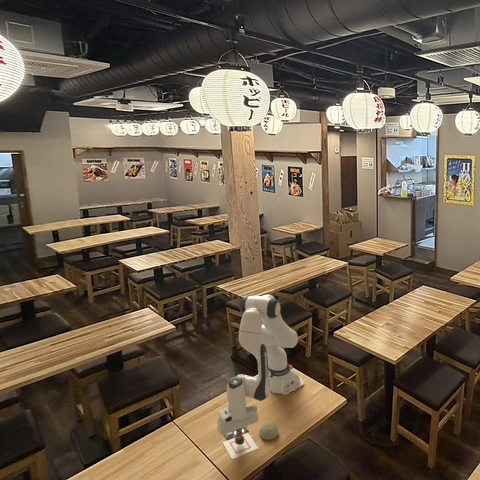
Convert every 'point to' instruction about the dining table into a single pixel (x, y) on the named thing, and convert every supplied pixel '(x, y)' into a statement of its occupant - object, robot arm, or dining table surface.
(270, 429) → the sea urchin shell
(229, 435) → the ink pad
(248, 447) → the sheet
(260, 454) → the dining table surface
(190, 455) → the dining table surface
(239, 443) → the stamp
